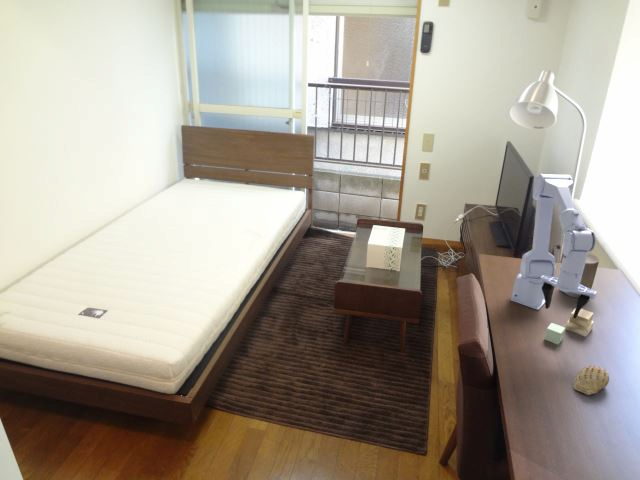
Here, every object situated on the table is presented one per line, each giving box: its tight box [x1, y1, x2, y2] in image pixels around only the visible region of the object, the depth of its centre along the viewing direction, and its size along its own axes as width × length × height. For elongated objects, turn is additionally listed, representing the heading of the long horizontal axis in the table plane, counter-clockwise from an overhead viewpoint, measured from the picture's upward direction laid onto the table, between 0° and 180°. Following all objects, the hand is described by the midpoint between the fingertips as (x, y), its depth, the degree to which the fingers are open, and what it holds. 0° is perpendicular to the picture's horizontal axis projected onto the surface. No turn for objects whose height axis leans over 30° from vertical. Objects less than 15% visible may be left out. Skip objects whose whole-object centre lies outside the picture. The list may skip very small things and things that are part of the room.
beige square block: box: [568, 307, 594, 328], centre depth 149 cm, size 5×5×3 cm
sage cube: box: [544, 322, 566, 345], centre depth 145 cm, size 4×4×4 cm
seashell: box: [572, 365, 610, 396], centre depth 125 cm, size 8×6×10 cm
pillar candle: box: [562, 252, 600, 299], centre depth 169 cm, size 10×10×15 cm
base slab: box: [565, 319, 595, 338], centre depth 150 cm, size 6×6×3 cm
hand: (561, 312), depth 141 cm, fingers open, 7 cm apart
